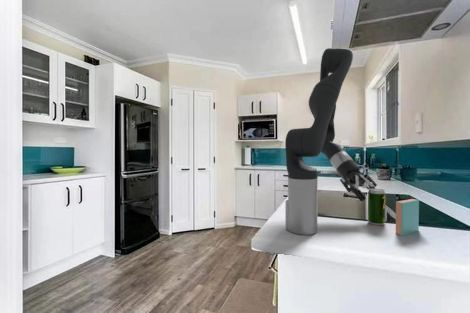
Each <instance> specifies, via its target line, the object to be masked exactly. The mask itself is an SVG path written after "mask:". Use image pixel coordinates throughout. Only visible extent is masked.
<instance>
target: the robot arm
mask: <svg viewBox="0 0 470 313" xmlns="http://www.w3.org/2000/svg"><path fill="white" fill-rule="evenodd" d="M353 53H354V52H353V51H352V49H350V48H345V47H344V48H343V47H337V48H336V47H334V48H331V47H328V48H325V50H324V51H323V52H322V56H321V59H320V60H321V61H320V73H319V81H318V82H317V83H316V84H315V85H314V87H313V88H312V91H311V92H310V96H309V98H308V108H309V109H310V112H311V115H312V116H313V118H314V120H313V123H312V125H311V126H309V127H303V128H302V127H301V128H292V129H289V131H288V132H287V134H286V136H285V140H284V141H285V142H284V143H285V145H284V147H285V164H286V165H285V166H286V171H287V200H285V230H287V231H289V232H291V233H293V234H296V235H304V236H306V235H307V236H308V235H315V234H317V232H318V174H319V173H318V170H317V169H316V168H314V167H312V166H310V165H308V164H307V163H306V162H305V161H304V158H315V157H318V156H319V155H320V153H322V154H323V155H324V156H325V157H326V158H327V159H328V161H329V162H330V163H331V165H332V167H333V168H334V170H335V171H336V172H337V173H338V175H339V176H340V180H339V181H340V182H341V184H342V186H343V187H344V188H345V191H347V193H352V194H354V195H355V197H357V199H358V200H359V201H360V202H364V201H366V199H367V198H366V196H365V195H364V193H363V192H362V191H361V189H359V188H360V187H361V188H363V189H366V190H368V191H369V189H376V187H377V186H378V184H377V183H376V181H375V180H374V179H373V178H372V177H371V176H370V175H369V174H368V173H365V174H362V173H361V172H360V170H361V168H360V166H359V165H358V164H357V163H356V162H355V161H354V159H353V158H352V157H351V156H350V155H349V154H348V153H347V152H346V151H345V150H344V149H343V148H342V146H341V145H340V144H338V143H337V142H334V140H335V136H336V132H335V114H336V110H337V101H338V99H339V96H340V93H341V89H342V87H343V84H344V82H345V79H346V77H347V75H348V72H349V70H350V68H351V65H352V63H353V58H354V57H353V56H354V54H353Z"/></svg>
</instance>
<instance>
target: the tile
mask: <svg viewBox="0 0 470 313" xmlns="http://www.w3.org/2000/svg"><path fill="white" fill-rule="evenodd" d="M419 216H420V200H419V199H415V198H409V199H403V200H398V201H395V234H397V235H400V236H406V235H409V234H413V233H416V232H418V231H419V229H420V228H419V226H420V225H419V221H420V218H419Z"/></svg>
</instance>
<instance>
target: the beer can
mask: <svg viewBox="0 0 470 313" xmlns="http://www.w3.org/2000/svg"><path fill="white" fill-rule="evenodd" d="M367 222H368V223H369V224H370V225H372V224H373V225H374V226H379V225H380V226H384V225H385V224H386V192H385V189H382V188H375V189H369V190H368V191H367Z"/></svg>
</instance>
